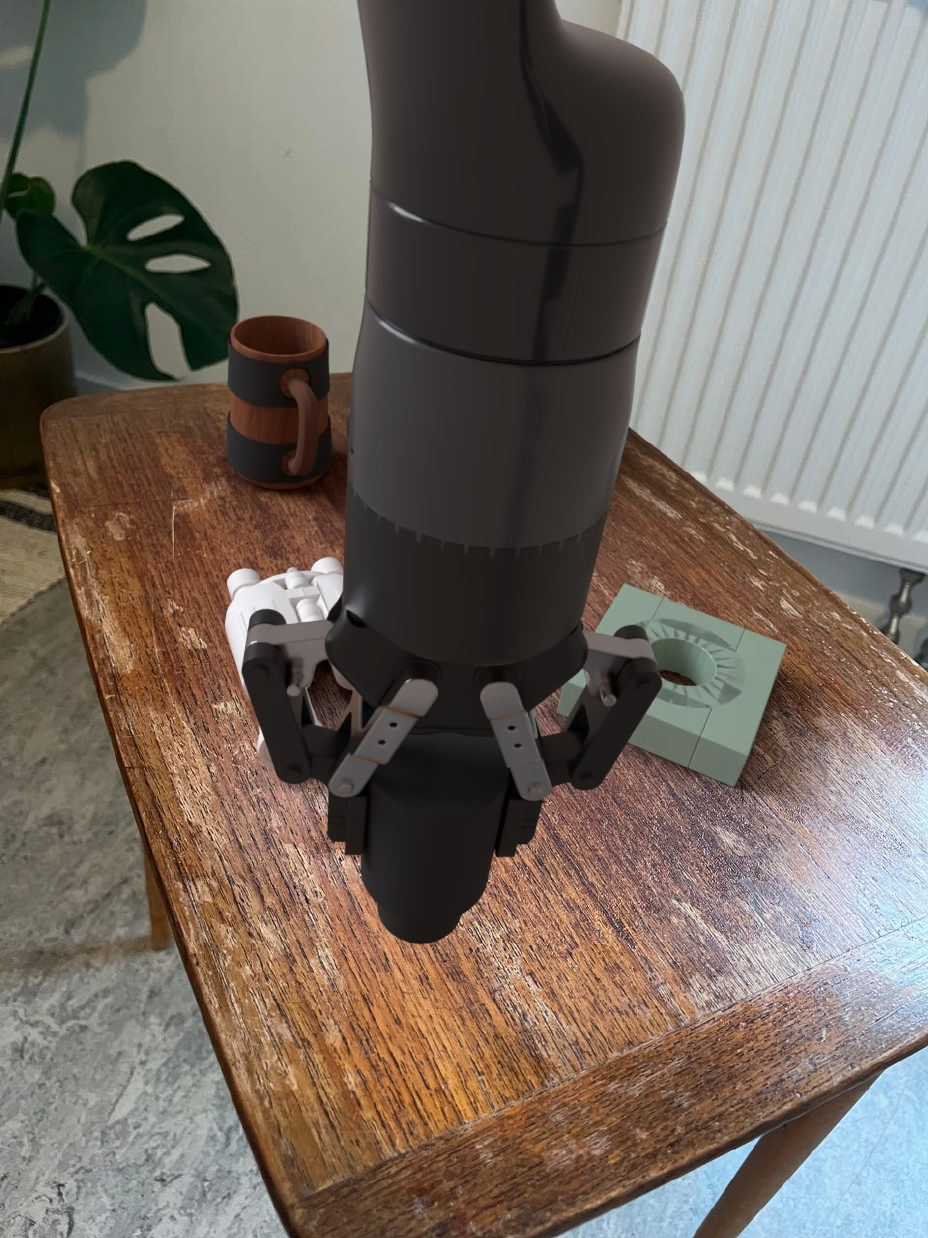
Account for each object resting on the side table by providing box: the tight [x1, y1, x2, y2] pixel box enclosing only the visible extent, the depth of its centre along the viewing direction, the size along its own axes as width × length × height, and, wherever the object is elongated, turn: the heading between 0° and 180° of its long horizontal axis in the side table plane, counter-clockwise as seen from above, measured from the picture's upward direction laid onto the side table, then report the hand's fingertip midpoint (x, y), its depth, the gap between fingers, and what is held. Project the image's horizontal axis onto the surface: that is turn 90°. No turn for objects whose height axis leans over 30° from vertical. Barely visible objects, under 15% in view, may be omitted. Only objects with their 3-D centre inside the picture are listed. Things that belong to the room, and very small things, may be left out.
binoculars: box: [224, 556, 354, 771], centre depth 61 cm, size 10×16×5 cm, turn 21°
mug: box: [226, 314, 333, 490], centre depth 77 cm, size 9×12×12 cm
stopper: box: [359, 732, 510, 945], centre depth 38 cm, size 5×5×9 cm
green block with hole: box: [556, 583, 788, 788], centre depth 65 cm, size 12×12×3 cm
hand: (429, 837), depth 38 cm, fingers closed on stopper, 5 cm apart
